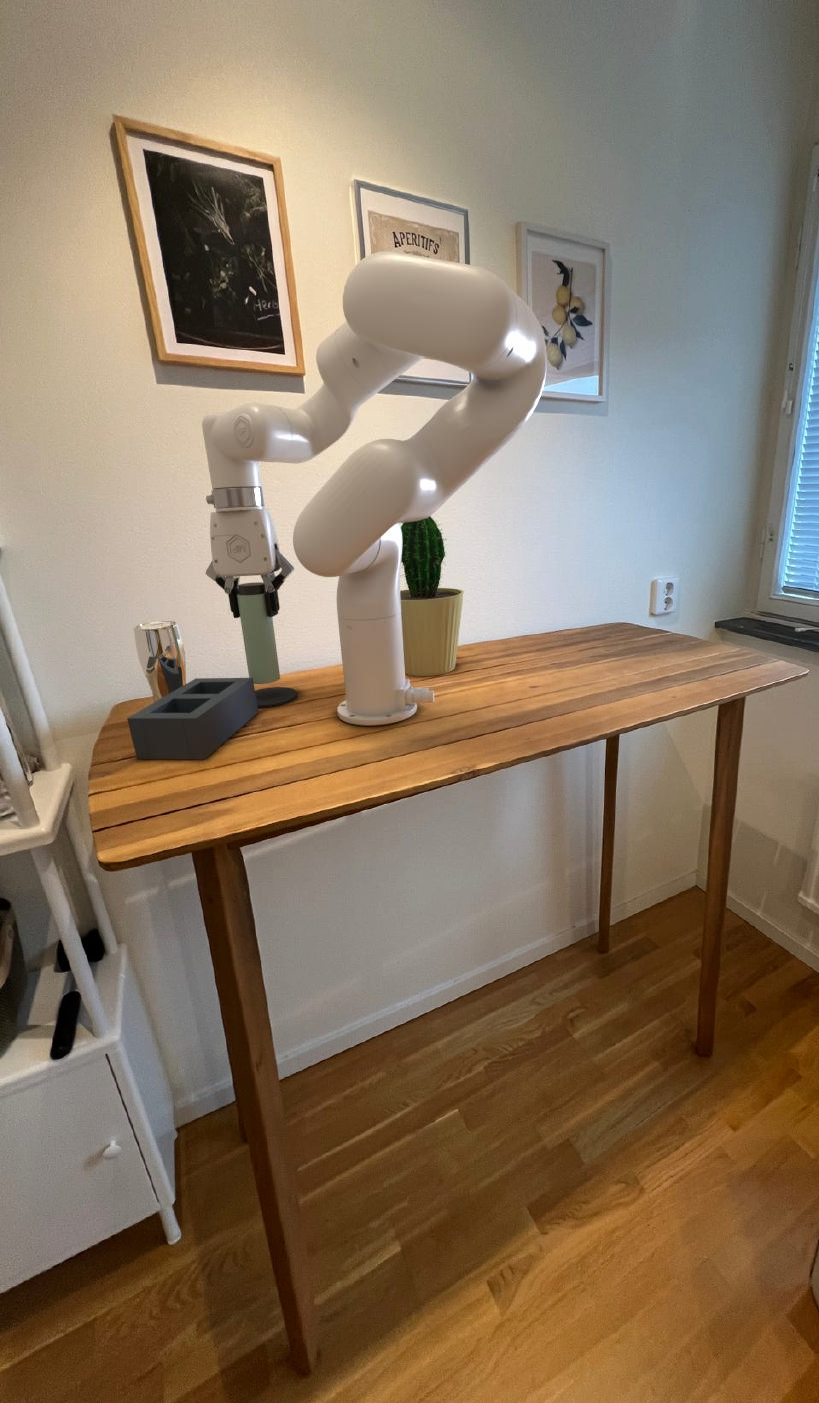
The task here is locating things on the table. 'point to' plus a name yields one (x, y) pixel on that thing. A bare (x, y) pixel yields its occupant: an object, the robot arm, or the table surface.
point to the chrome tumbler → (161, 656)
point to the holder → (193, 719)
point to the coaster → (274, 696)
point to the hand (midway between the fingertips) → (256, 614)
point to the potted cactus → (427, 603)
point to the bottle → (258, 634)
